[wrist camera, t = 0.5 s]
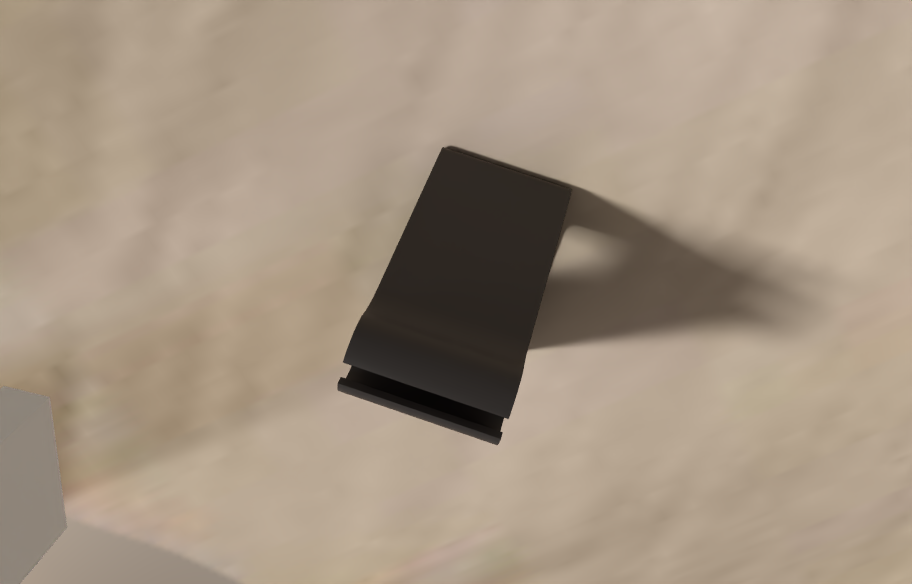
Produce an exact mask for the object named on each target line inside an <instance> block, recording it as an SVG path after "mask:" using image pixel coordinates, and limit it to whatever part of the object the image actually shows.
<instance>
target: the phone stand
mask: <svg viewBox="0 0 912 584" xmlns="http://www.w3.org/2000/svg"><path fill="white" fill-rule="evenodd" d="M571 192H572V190H571V189H568V188H565V187H562V186H559V185H556V184H553V183H550V182H547V181H544V180H541V179H538V178H535V177H532V176H529V175H526V174H523V173H520V172H517V171H514V170H511V169H508V168H505V167H502V166H499V165H496V164H492V163H489V162H486V161H483V160H480V159H477V158H474V157H471V156H468V155H465V154H462V153H459V152H456V151H453V150H450V149H447V148H444V147H443V148H442V149H441V152H440V154H439V156H438V158H437V160H436V162H435V165H434V167H433V169H432V171H431V173H430V176H429V178H428V180H427V182H426V184H425V186H424V189H423V191H422V193H421V195H420V197H419V199H418V202H417V204H416V206H415V208H414V210H413V213H412V215H411V217H410V219H409V221H408V223H407V226H406V228H405V230H404V232H403V234H402V236H401V239H400V241H399V243H398V245H397V247H396V250H395V252H394V254H393V256H392V258H391V260H390V263H389V265H388V267H387V269H386V271H385V273H384V276H383V278H382V280H381V282H380V284H379V287H378V289H377V291H376V293H375V295H374V297H373V299H372V301H371V303H370V304H369V306H368V308H367V309H366V311H365V312H364V314H363V315H362V317H361V318H360V320H359V322H358V324H357V326H356V329H355V331H354V333H353V336H352V338H351V341H350V343H349V346H348V349H347V351H346V354H345V357H344V361H343V363H346V364H349V365H352V367H351V369H350V371H349V373H348V375H347V377H346V379H345V378H342V377H341V378H340V380H339V382H338V391H341V392H343V393H346V394H349V395H352V396H355V397H358V398H361V399H364V400H367V401H370V402H373V403H375V404H378V405H381V406H384V407H387V408H390V409H393V410H396V411H399V412H402V413H405V414H408V415H410V416H413V417H416V418H419V419H422V420H425V421H428V422H431V423H434V424H437V425H440V426H443V427H445V428H448V429H451V430H454V431H457V432H460V433H463V434H466V435H469V436H472V437H475V438H477V439H480V440H483V441H486V442H489V443H492V444H495V445H498V444H499V442H500V440H501V437H502V433H503V432H500V431H501V427H502V423H503V419H504V418H507V419H509V416H510V413H511V410H512V407H513V404H514V401H515V398H516V395H517V392H518V388H519V385H520V381H521V378H522V373H523V369H524V363H525V358H526V354H527V350H528V346H529V343H530V339H531V335H532V332H533V328H534V325H535V321H536V318H537V314H538V310H539V307H540V303H541V300H542V296H543V292H544V289H545V285H546V282H547V278H548V274H549V271H550V267H551V264H552V260H553V256H554V253H555V249H556V246H557V242H558V239H559V235H560V231H561V228H562V224H563V221H564V217H565V213H566V210H567V206H568V203H569V199H570V195H571Z"/></svg>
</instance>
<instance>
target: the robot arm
mask: <svg viewBox="0 0 912 584" xmlns="http://www.w3.org/2000/svg"><path fill="white" fill-rule="evenodd" d="M66 528H67V523H66V516H65V508H64V500H63V493H62V485H61V478H60V470H59V462H58V455H57V447H56V440H55V432H54V424H53V417H52V409H51V402H50V397H48V396H44V395H39V394H35V393H31V392H27V391H23V390H19V389H14V388H10V387H6V386H3V387H2V388H1V389H0V584H20V583H21V582H22V581H23V580H24V578H25V577H26V576H27V575H28V573H29V572H30V571H31V570H32V569H33V568H34V567H35V565H36V564H37V563H38V562H39V561H40V559H41V558H42V557H43V556H44V555H45V553H46V552H47V551H48V550H49V549H50V547H51V546H52V545H53V544H54V543H55V541H56V540H57V539H58V538H59V537H60V536H61V534H62V533H63V532H64V531H65V530H66Z"/></svg>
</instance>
